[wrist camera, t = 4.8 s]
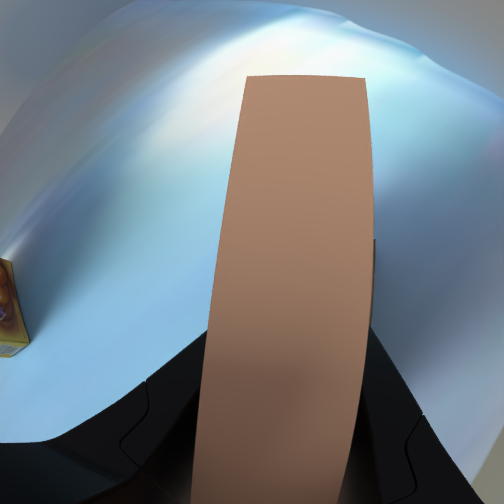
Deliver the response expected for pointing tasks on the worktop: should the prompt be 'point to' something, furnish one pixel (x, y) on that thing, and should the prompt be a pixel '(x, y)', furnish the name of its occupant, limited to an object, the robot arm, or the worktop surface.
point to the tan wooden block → (289, 296)
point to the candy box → (10, 314)
